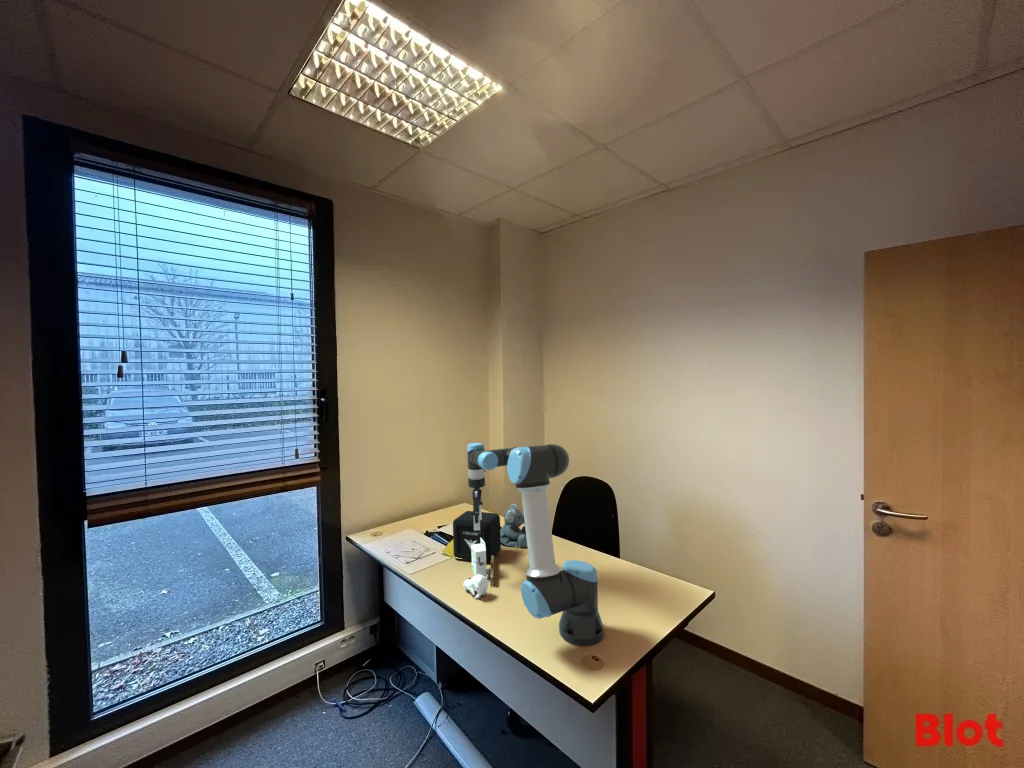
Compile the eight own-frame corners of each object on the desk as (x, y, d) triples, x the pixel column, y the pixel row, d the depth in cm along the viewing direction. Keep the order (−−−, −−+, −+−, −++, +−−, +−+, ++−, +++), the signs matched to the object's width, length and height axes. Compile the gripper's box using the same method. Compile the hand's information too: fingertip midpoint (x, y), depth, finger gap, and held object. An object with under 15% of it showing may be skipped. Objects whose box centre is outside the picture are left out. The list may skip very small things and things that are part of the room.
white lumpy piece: (478, 579, 160) (458, 573, 167) (480, 602, 159) (459, 594, 167) (489, 573, 164) (469, 568, 172) (491, 595, 164) (471, 588, 172)
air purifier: (451, 560, 198) (450, 519, 198) (464, 548, 211) (463, 510, 211) (489, 565, 191) (488, 523, 191) (500, 553, 205) (499, 513, 205)
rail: (493, 586, 171) (492, 577, 171) (490, 586, 171) (490, 577, 171) (494, 563, 193) (493, 555, 193) (491, 563, 193) (491, 555, 193)
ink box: (471, 570, 185) (470, 538, 185) (481, 568, 187) (480, 536, 187) (476, 578, 177) (475, 545, 177) (487, 576, 179) (486, 543, 179)
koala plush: (527, 549, 208) (526, 511, 208) (493, 547, 211) (492, 510, 211) (531, 536, 225) (530, 501, 225) (500, 535, 228) (499, 500, 228)
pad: (488, 578, 178) (488, 577, 178) (468, 579, 178) (468, 577, 178) (489, 568, 187) (489, 567, 187) (469, 569, 187) (469, 568, 187)
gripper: (483, 484, 170) (485, 534, 170) (485, 471, 195) (487, 515, 195) (465, 484, 170) (467, 535, 170) (470, 471, 195) (471, 515, 195)
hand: (477, 524), depth 183 cm, fingers open, 13 cm apart
